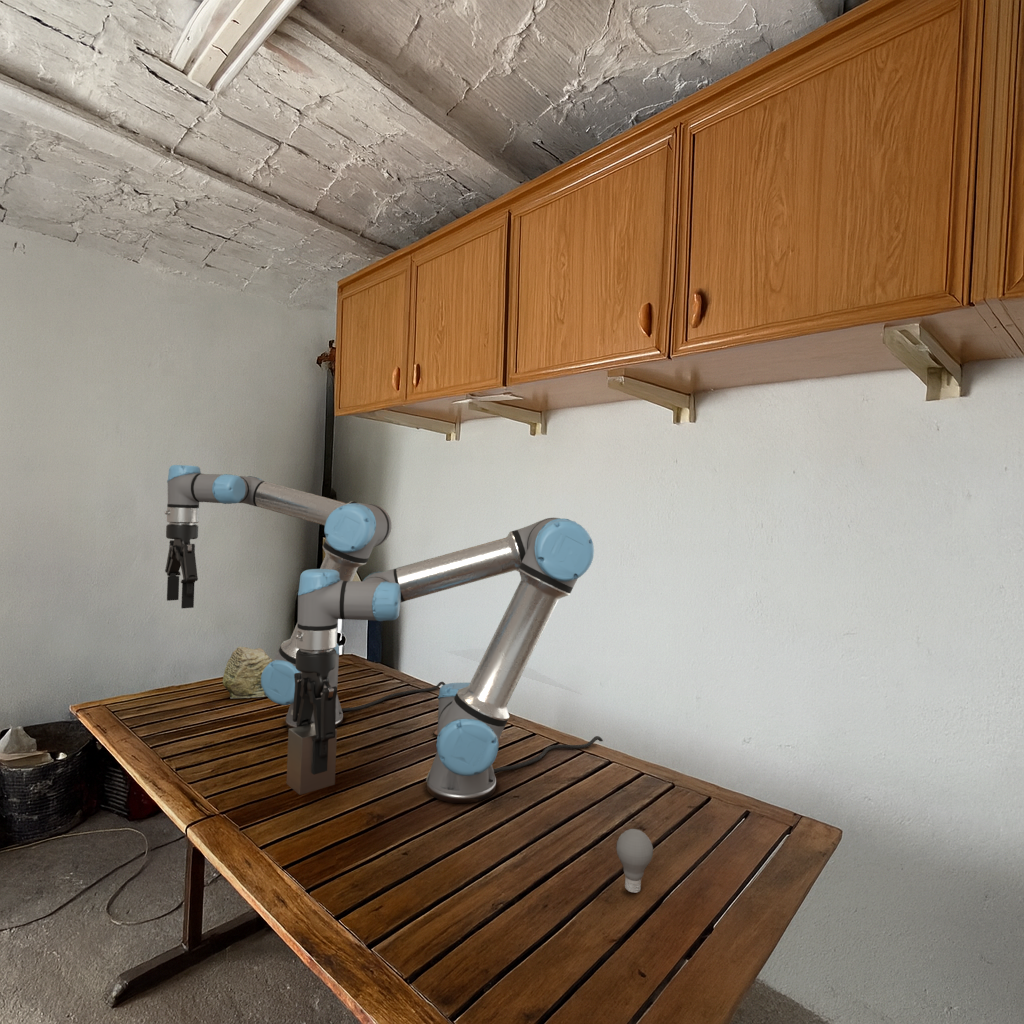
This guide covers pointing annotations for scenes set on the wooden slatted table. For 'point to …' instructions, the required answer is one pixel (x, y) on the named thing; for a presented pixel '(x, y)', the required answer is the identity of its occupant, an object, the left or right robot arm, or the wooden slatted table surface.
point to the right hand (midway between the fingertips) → (311, 765)
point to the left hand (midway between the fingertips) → (179, 604)
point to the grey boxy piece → (308, 761)
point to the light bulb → (634, 857)
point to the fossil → (245, 672)
